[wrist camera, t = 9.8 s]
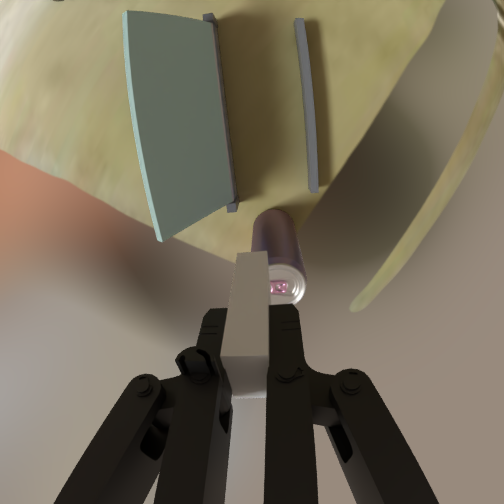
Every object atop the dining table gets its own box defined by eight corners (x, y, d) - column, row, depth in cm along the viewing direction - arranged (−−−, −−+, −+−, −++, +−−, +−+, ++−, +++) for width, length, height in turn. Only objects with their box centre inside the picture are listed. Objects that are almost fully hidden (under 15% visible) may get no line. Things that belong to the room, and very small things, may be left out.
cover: (214, 23, 23) (208, 25, 24) (127, 10, 14) (121, 14, 15) (235, 199, 35) (229, 199, 35) (162, 242, 26) (157, 240, 26)
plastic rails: (208, 22, 25) (202, 14, 22) (299, 14, 24) (303, 5, 21) (230, 203, 38) (227, 212, 35) (315, 197, 37) (320, 206, 34)
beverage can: (252, 207, 38) (246, 263, 25) (294, 207, 38) (310, 262, 25) (254, 245, 41) (249, 311, 28) (293, 244, 41) (305, 310, 28)
